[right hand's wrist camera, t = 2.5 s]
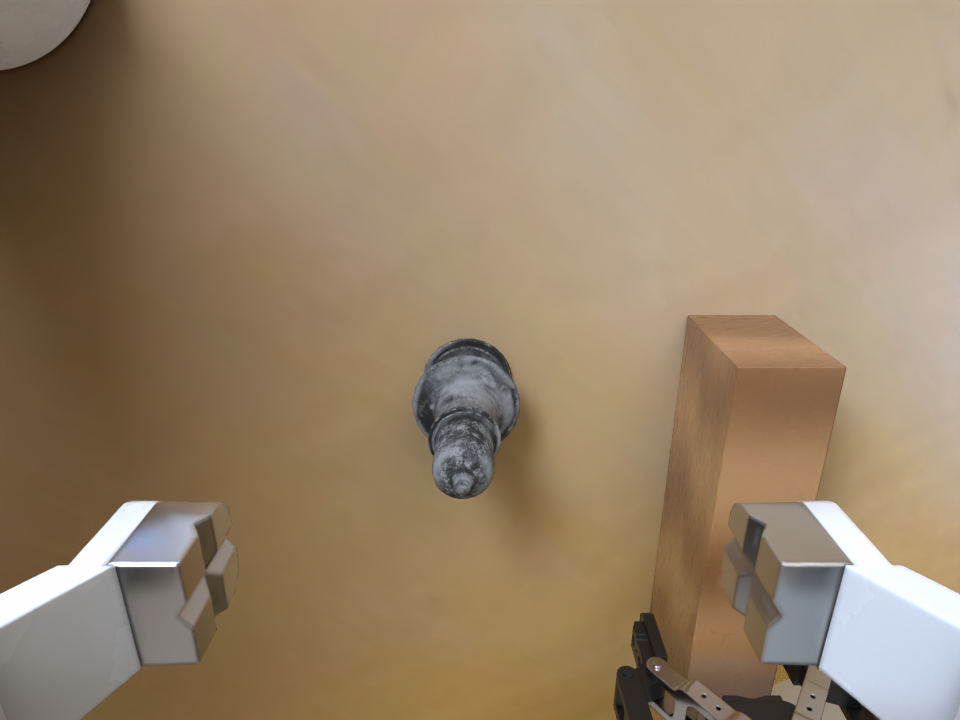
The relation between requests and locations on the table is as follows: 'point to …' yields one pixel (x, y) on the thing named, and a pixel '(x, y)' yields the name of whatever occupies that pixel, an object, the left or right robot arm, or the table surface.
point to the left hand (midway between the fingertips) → (710, 623)
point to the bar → (734, 479)
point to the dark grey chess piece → (465, 413)
